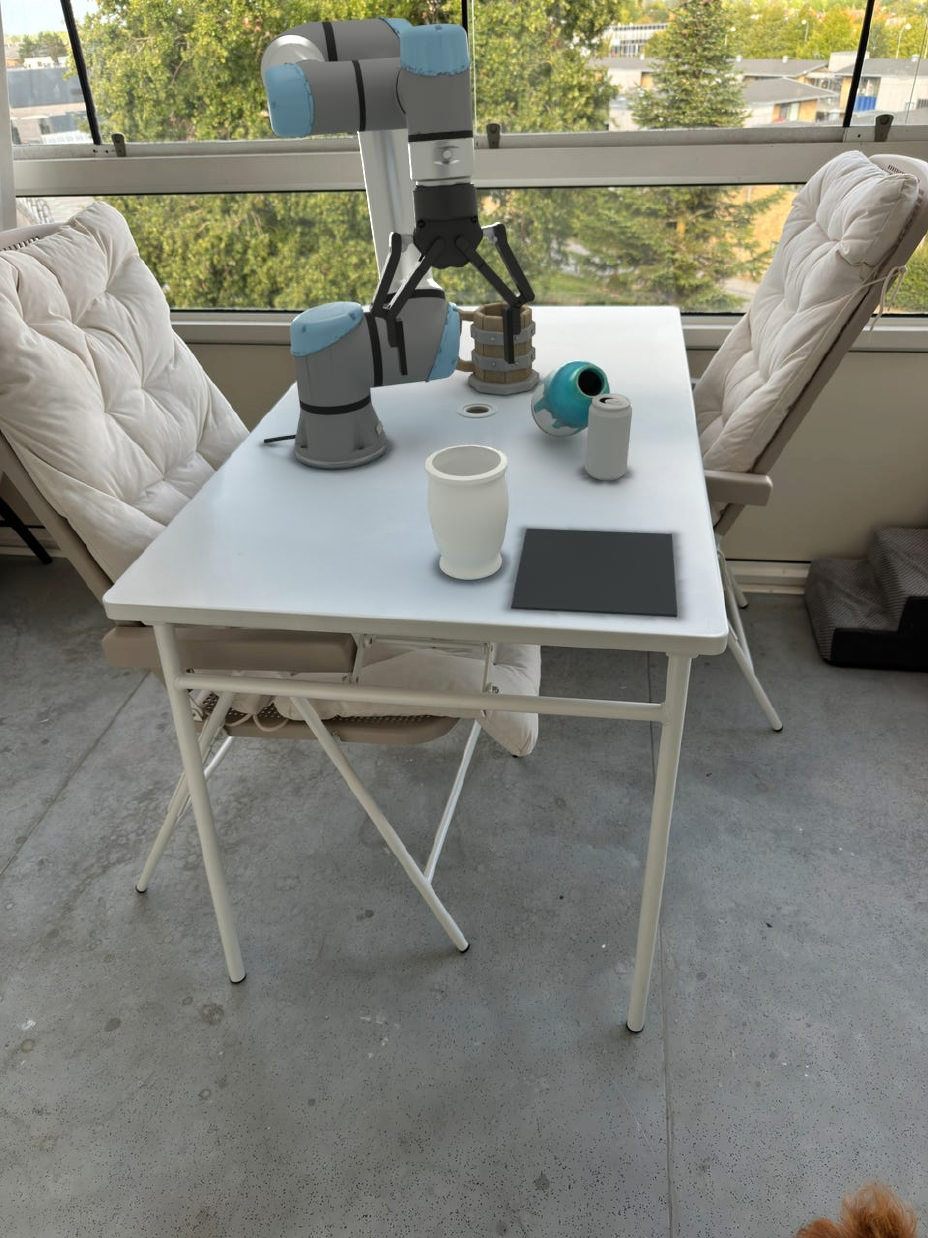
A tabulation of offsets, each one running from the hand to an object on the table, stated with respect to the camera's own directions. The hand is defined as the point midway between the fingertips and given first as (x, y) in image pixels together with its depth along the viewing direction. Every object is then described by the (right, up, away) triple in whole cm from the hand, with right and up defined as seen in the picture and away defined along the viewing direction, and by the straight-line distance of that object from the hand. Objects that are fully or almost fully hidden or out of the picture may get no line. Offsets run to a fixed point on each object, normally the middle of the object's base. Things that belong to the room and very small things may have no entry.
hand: (456, 367), depth 118 cm
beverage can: (+23, -9, +27) cm, 37 cm away
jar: (+2, -25, +6) cm, 26 cm away
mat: (+18, -25, +4) cm, 31 cm away
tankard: (+5, +14, +63) cm, 65 cm away
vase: (+16, +4, +41) cm, 44 cm away
